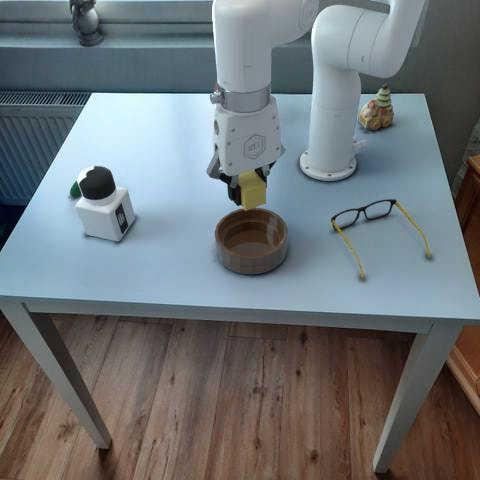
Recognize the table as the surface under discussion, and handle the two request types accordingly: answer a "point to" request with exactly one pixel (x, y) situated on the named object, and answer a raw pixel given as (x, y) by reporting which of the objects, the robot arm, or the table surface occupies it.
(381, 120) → the ornament
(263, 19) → the robot arm
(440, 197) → the table surface
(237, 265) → the bowl
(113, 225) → the container
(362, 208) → the eyeglasses
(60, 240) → the table surface
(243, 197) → the cheese
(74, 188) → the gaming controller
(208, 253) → the table surface
